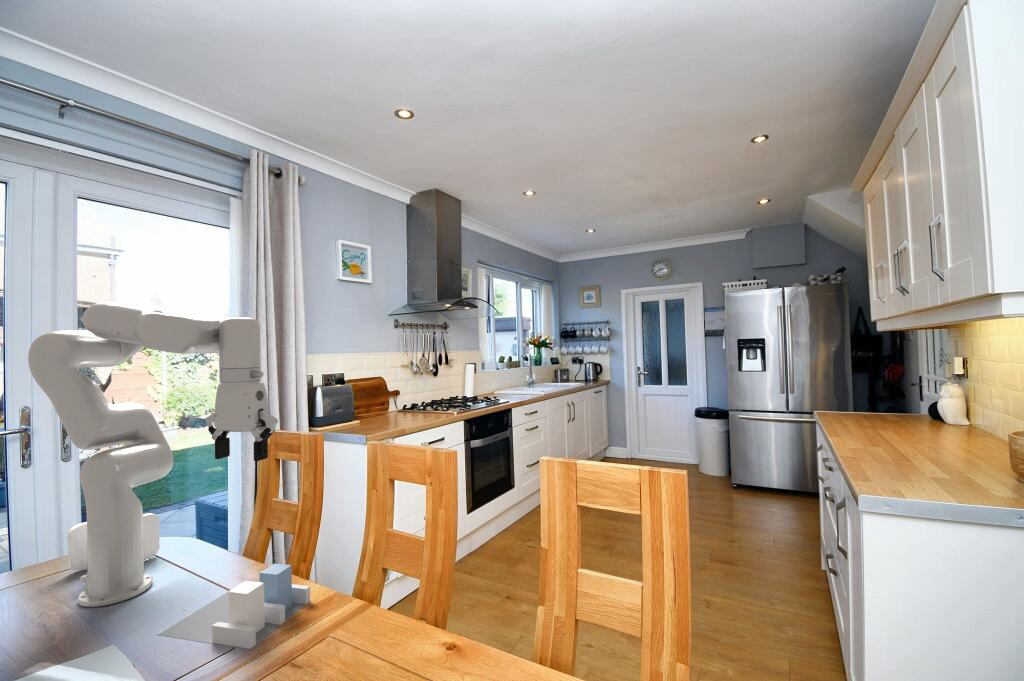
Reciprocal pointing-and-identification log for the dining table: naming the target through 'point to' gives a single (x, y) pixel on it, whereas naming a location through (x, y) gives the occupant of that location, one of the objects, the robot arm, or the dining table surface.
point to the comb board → (216, 628)
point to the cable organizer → (79, 542)
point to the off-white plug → (247, 605)
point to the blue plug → (277, 584)
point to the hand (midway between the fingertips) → (241, 458)
